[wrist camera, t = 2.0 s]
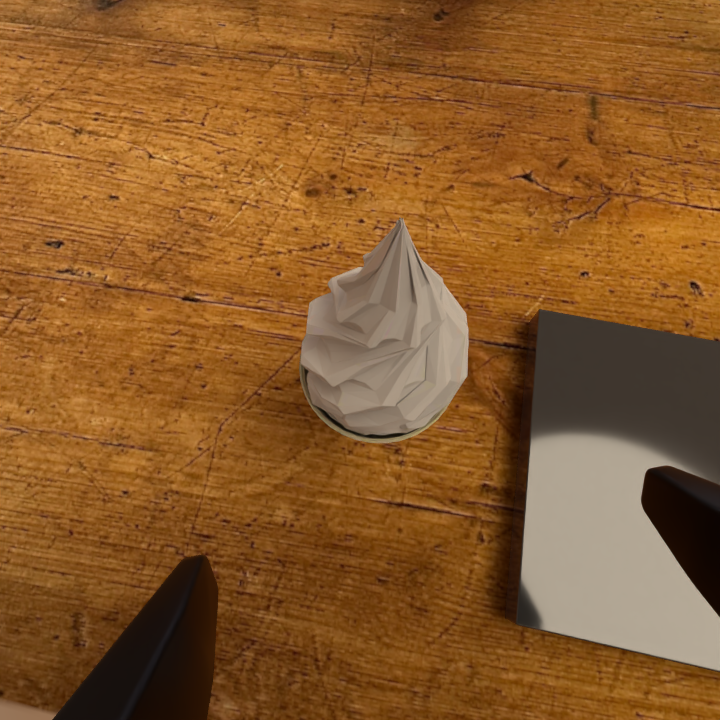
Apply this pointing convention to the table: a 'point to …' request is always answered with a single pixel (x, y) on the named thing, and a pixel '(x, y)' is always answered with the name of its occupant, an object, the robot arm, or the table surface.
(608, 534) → the serving board
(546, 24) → the table surface
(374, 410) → the ice cream cone
